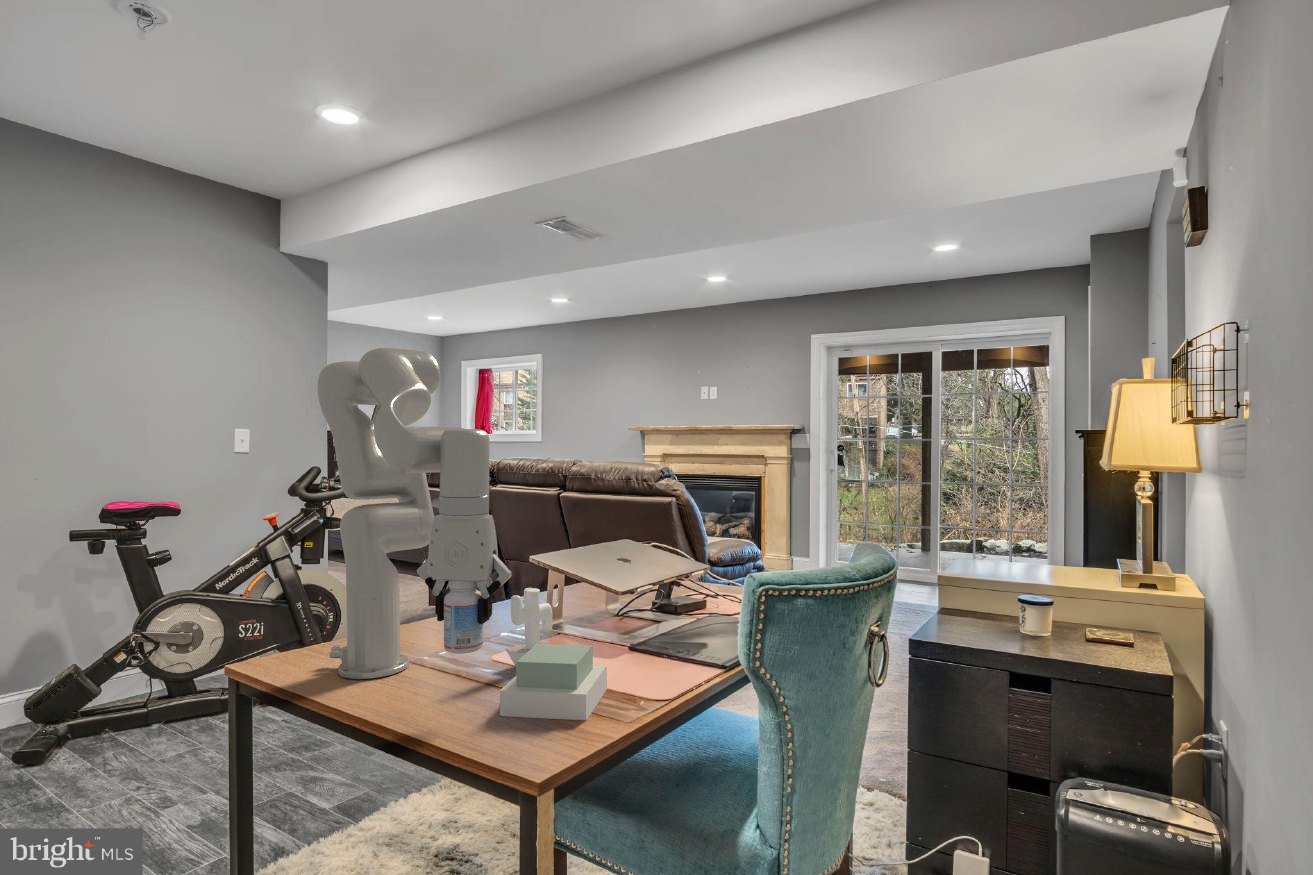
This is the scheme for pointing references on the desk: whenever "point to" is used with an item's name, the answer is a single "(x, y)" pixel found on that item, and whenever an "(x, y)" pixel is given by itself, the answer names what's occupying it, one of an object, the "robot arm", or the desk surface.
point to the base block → (554, 699)
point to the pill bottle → (462, 618)
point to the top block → (554, 666)
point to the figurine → (529, 620)
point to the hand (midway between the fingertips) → (463, 619)
